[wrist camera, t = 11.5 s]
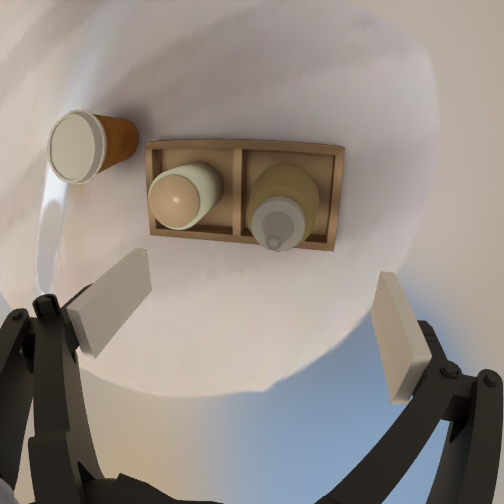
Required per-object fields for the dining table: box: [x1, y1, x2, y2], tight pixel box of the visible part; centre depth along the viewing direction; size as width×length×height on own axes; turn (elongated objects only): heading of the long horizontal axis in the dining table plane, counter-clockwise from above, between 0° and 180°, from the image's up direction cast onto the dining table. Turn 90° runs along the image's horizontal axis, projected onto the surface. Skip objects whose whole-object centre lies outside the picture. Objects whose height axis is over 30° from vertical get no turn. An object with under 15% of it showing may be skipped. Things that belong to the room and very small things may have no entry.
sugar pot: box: [148, 161, 224, 230], centre depth 36 cm, size 7×7×9 cm
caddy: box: [145, 139, 345, 252], centre depth 39 cm, size 13×25×4 cm, turn 88°
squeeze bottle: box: [246, 164, 320, 252], centre depth 30 cm, size 8×8×18 cm
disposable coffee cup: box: [47, 110, 138, 185], centre depth 35 cm, size 10×10×12 cm
